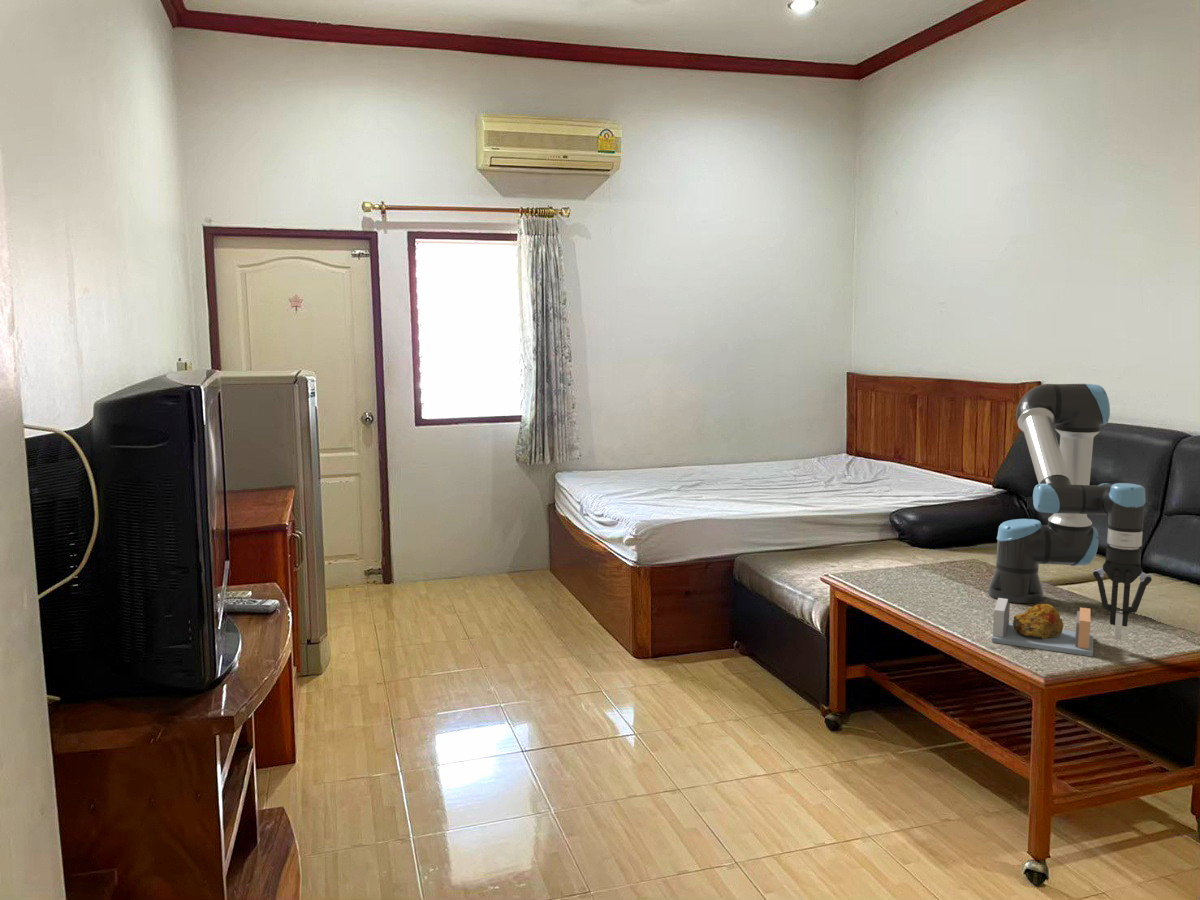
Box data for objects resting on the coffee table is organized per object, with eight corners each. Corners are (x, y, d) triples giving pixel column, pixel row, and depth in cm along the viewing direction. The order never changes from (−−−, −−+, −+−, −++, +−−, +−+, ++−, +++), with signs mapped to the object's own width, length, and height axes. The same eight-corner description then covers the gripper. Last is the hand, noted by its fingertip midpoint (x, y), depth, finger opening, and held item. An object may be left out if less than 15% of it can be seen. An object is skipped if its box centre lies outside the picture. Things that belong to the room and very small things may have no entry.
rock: (1050, 656, 230) (1026, 630, 229) (1026, 650, 238) (1003, 625, 237) (1074, 623, 233) (1050, 597, 231) (1050, 618, 241) (1027, 593, 239)
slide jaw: (1075, 632, 235) (1077, 607, 234) (1088, 634, 234) (1090, 608, 233) (1075, 647, 225) (1076, 620, 224) (1088, 649, 223) (1090, 621, 223)
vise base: (997, 625, 246) (998, 596, 245) (1092, 638, 235) (1094, 608, 234) (992, 642, 233) (993, 611, 232) (1092, 656, 222) (1095, 624, 221)
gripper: (1094, 546, 222) (1088, 638, 225) (1155, 552, 216) (1148, 646, 219) (1093, 540, 229) (1088, 629, 232) (1153, 545, 223) (1146, 637, 226)
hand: (1117, 637), depth 225 cm, fingers closed
